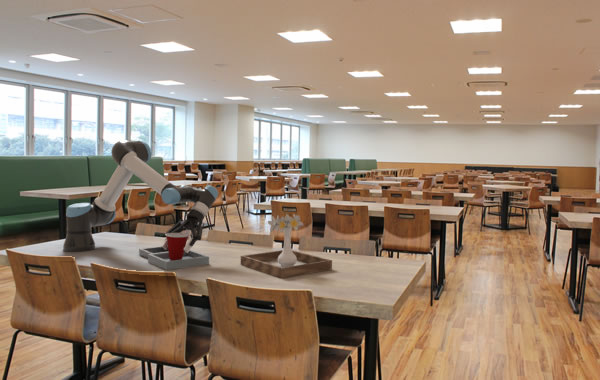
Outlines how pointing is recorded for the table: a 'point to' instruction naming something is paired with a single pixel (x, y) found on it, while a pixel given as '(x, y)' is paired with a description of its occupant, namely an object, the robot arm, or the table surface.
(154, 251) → the square collar
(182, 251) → the plastic cup
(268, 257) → the frame
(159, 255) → the tray
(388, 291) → the table surface
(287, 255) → the flower vase
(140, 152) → the robot arm
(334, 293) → the table surface
